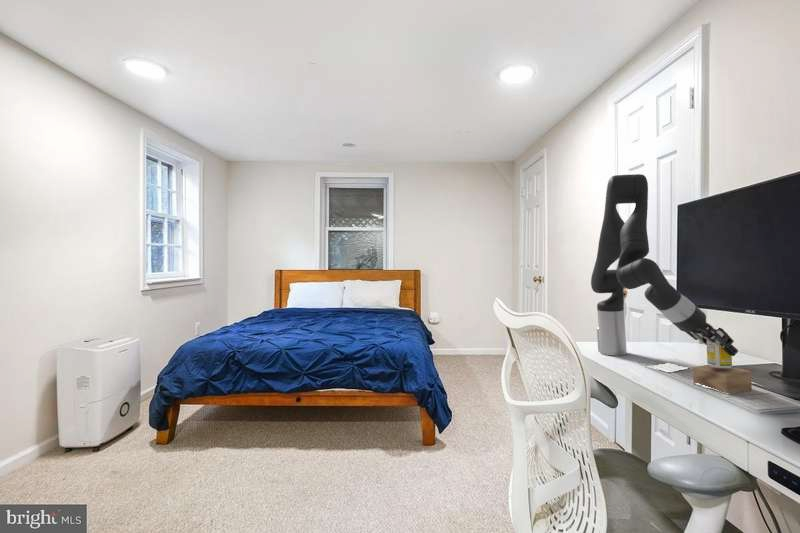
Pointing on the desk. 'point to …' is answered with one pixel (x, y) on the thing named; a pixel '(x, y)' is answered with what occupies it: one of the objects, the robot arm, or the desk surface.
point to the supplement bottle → (717, 356)
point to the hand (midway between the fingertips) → (725, 350)
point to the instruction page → (650, 367)
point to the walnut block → (723, 378)
